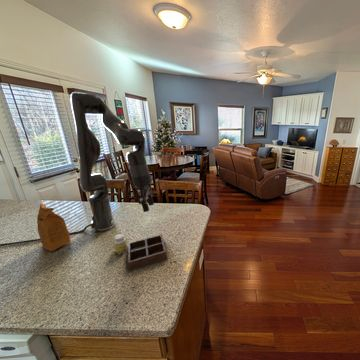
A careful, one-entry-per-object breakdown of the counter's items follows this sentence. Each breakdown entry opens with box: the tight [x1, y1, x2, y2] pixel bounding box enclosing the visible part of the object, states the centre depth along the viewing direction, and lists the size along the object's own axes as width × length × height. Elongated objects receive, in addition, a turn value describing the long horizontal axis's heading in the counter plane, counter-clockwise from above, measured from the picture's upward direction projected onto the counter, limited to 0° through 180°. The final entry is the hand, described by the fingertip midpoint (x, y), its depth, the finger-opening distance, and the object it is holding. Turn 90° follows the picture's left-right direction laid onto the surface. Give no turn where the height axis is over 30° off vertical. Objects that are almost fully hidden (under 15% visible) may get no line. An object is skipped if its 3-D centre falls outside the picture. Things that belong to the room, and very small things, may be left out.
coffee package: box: [36, 203, 72, 252], centre depth 94 cm, size 10×12×22 cm
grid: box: [127, 234, 168, 271], centre depth 90 cm, size 16×16×4 cm
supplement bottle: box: [113, 233, 128, 255], centre depth 92 cm, size 5×5×8 cm
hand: (149, 208), depth 87 cm, fingers open, 8 cm apart
